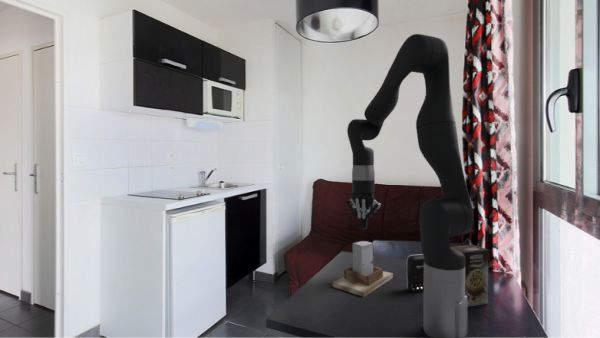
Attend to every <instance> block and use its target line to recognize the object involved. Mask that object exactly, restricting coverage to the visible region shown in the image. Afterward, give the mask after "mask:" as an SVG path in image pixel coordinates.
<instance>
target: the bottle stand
mask: <svg viewBox="0 0 600 338" xmlns="http://www.w3.org/2000/svg"><path fill="white" fill-rule="evenodd" d="M393 278H394V273H392V272H389V271H385V270H384V268H382V267H378V266H375V265H373V273H371V274H370V275H365V274H361V273H358V272H354V271H353V265H351V266H349V267H347V268H345V269H343V276H342V277H340V278H338V279H336V280H333V281H332V284H331V285H332V286H331V287H333V288H334V289H339V290H342V291H345V292H348V293H350V294H354V295H357V296H360V297H363V298H365V297H366V296H368V295H369V294H370V293H372V292H373V291H375V290H376V289H378V288H379V287H381V286H382V285H384V284H386V283H387V282H389V281H391V280H392V279H393Z"/></svg>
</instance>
